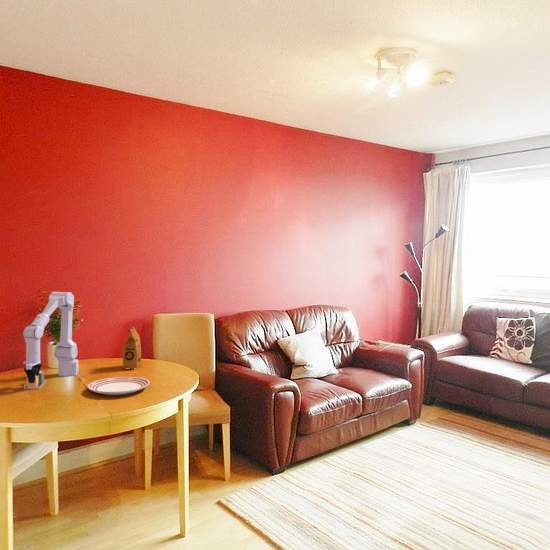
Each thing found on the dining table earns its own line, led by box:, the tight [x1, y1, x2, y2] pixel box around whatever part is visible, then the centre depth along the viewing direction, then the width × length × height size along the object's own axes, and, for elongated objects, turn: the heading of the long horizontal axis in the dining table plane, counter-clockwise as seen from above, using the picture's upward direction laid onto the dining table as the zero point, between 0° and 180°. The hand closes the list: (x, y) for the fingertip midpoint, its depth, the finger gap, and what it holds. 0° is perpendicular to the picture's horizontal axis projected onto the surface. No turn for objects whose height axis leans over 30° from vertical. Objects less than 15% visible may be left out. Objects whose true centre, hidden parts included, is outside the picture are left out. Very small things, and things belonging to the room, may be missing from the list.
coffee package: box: [122, 326, 142, 370], centre depth 262 cm, size 10×12×22 cm
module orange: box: [25, 376, 38, 390], centre depth 216 cm, size 4×4×5 cm
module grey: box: [38, 370, 45, 384], centre depth 224 cm, size 4×4×5 cm
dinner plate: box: [87, 376, 150, 396], centre depth 221 cm, size 28×27×3 cm
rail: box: [23, 379, 47, 391], centre depth 220 cm, size 6×12×3 cm, turn 12°
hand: (33, 381), depth 216 cm, fingers open, 4 cm apart
